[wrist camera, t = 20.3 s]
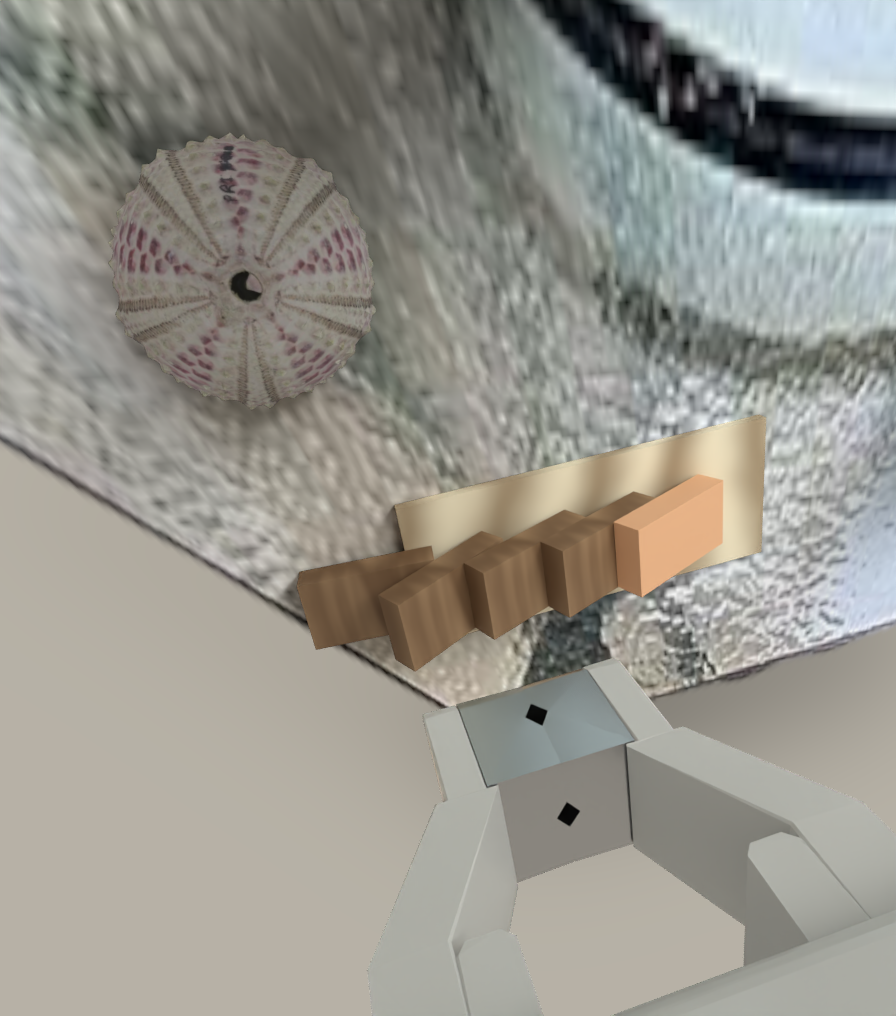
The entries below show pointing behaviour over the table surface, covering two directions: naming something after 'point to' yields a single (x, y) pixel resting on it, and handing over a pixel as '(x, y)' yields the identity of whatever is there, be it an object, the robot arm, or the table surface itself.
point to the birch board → (606, 491)
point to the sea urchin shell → (241, 270)
